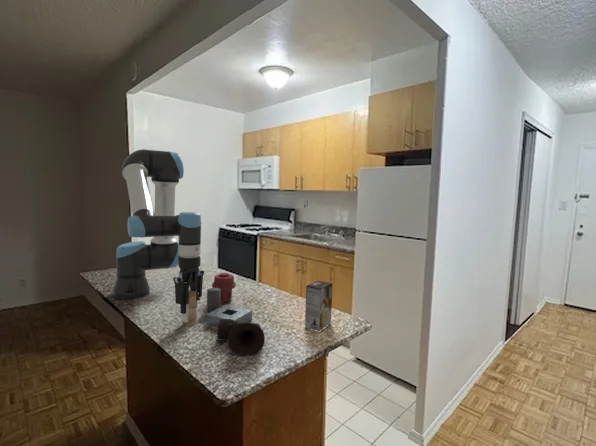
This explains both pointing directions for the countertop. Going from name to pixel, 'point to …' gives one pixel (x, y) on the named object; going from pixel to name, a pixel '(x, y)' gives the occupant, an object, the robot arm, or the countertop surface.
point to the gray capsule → (213, 299)
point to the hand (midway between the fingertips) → (189, 319)
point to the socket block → (228, 315)
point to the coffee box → (318, 305)
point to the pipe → (241, 336)
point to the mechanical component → (224, 286)
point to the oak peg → (191, 308)
